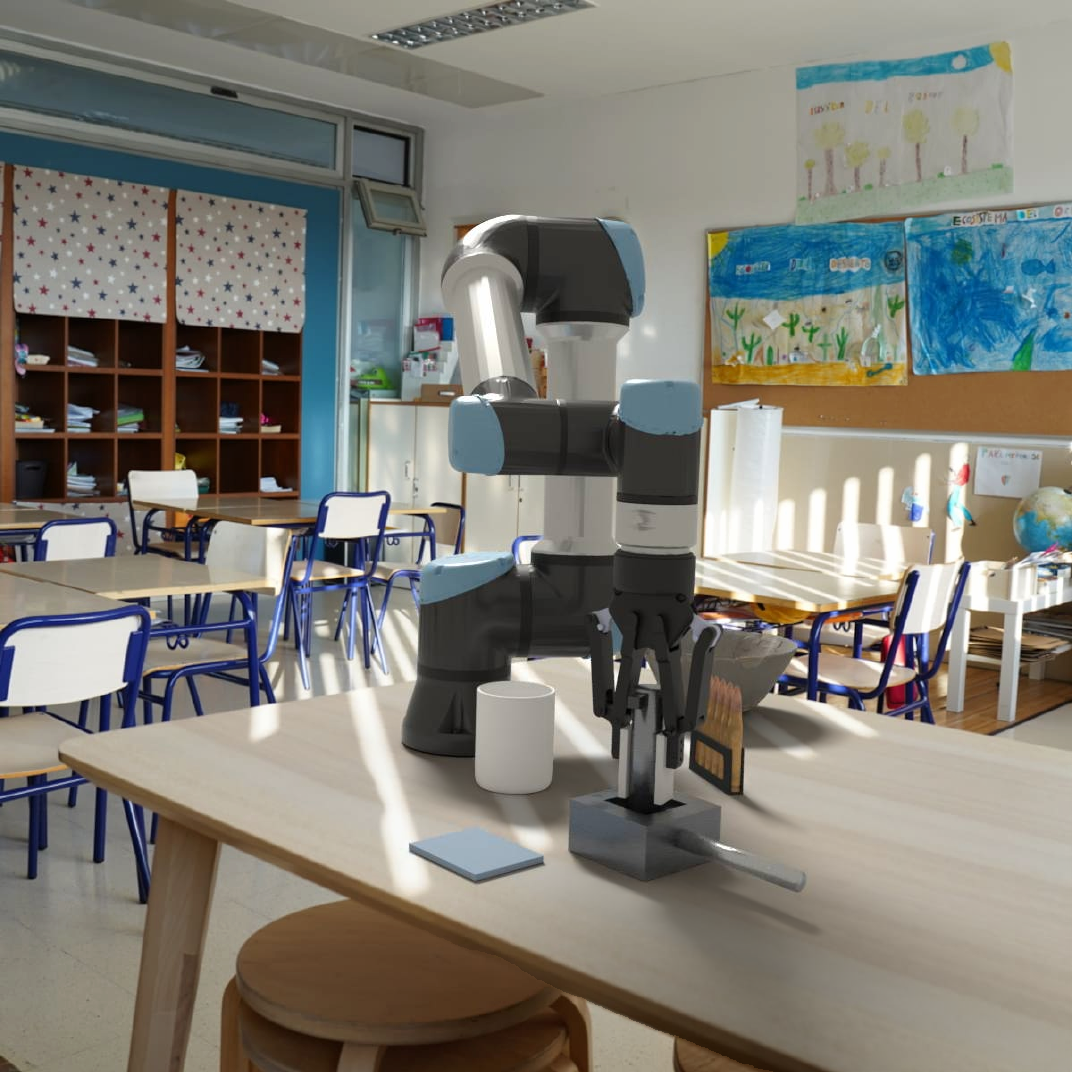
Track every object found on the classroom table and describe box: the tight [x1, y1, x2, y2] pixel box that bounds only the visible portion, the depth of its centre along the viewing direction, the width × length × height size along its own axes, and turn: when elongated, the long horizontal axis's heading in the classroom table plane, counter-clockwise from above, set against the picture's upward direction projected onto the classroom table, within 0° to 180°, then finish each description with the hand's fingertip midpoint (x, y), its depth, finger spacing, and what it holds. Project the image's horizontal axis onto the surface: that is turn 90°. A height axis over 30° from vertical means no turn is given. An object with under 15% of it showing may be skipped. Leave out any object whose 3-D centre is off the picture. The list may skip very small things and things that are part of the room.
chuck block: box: [567, 786, 807, 894], centre depth 115 cm, size 23×10×5 cm, turn 41°
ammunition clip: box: [688, 675, 746, 796], centre depth 145 cm, size 11×2×12 cm, turn 17°
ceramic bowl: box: [643, 628, 798, 713], centre depth 179 cm, size 22×23×10 cm
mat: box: [408, 826, 545, 882], centre depth 119 cm, size 10×8×1 cm
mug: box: [474, 680, 556, 795], centre depth 143 cm, size 9×12×11 cm
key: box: [628, 682, 665, 815], centre depth 120 cm, size 7×4×14 cm, turn 151°
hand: (645, 796), depth 120 cm, fingers closed on key, 3 cm apart
